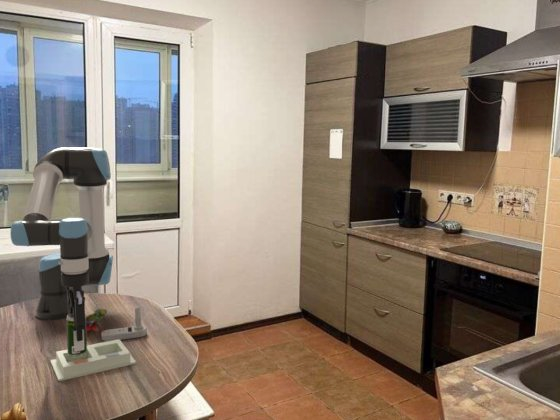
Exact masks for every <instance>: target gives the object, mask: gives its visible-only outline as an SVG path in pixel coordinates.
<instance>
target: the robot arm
mask: <svg viewBox="0 0 560 420" xmlns="http://www.w3.org/2000/svg"><path fill="white" fill-rule="evenodd" d="M32 173H33V174H32V176H33V179H34V180H33V183H32V187H31V190H30V193H29V196H28V201H27V204H26V208H25V211H24V215H23V216H22V217H23V218H22V220H15V221H13V222H12V224H11V226H10V240H11V243H12V244H13V245H14V246H18V247H19V246H21V247H38V246H59V247H60V248H59V250H60V251H59V252H57V253H52V254H48V255H45V256H42V257H41V258H40V259H39V262H38V277H39V298H38V300H37V304H36V307H35V317H37V318H38V319H41V320H61V319H65V318H66V319H67V315H68V314H70V313H73V317H74V329H72V331H74V351H75V352H76V351H81V350H84V329H86V326H85V316H86V306H85V303H86V297H85V292H84V290H83V288H82V287H92V286H97V287H99V286H104V285H105V286H106V285H108V284H109V283H111V282H110V281H111V277H112V268H113V261H114V255H111V254H110V251H109V249H107V248H106V246H105V245H106V243H105V215H104V188H105V187H106V186H107V185H108V181H110V180H111V177H112V174H111V165H110V159H109V156H108V153H107V151H106V150H105V149H104V148H98V147H96V148H95V147H58V148H55V149H52V150H50V151H49V152H47V153H45V154H44V155H42V157H41V158H40V159H39V160H38V161H37V163H36V164H35V166H34V169H33V171H32ZM63 180H73V186H74V187H76V188H77V190H78V208H79V217H67V218H63V219H60V220H51V218H52V212H53V210H54V209H53V208H54V204H55V200H56V196H57V191H58V187H59V184H61V183H62V181H63Z"/></svg>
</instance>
